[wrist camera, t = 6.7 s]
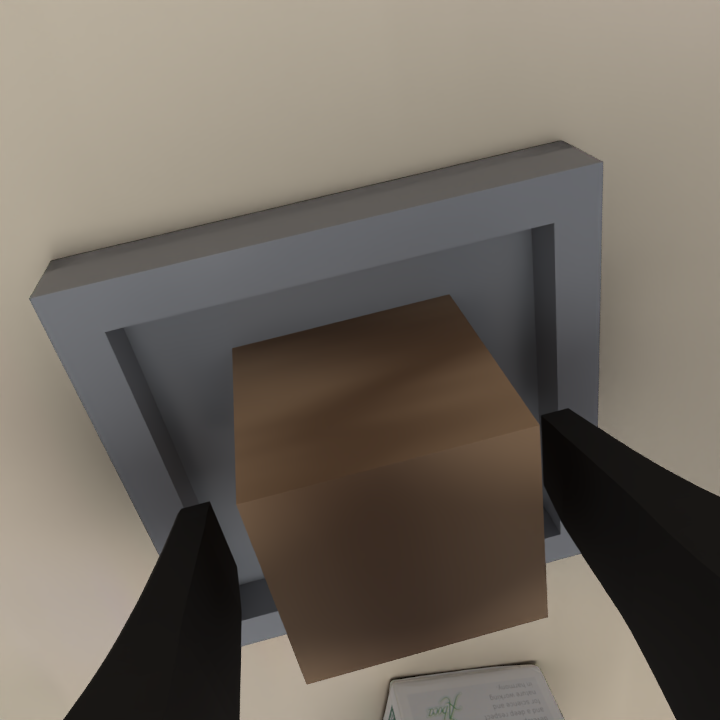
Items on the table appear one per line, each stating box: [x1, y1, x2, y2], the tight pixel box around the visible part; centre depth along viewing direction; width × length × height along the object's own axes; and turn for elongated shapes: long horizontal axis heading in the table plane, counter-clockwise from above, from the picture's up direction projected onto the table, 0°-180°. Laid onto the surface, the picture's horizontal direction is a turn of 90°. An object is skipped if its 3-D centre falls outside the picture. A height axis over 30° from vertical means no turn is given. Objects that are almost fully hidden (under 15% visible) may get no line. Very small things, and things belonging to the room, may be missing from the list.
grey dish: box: [29, 141, 603, 646], centre depth 16 cm, size 11×11×2 cm
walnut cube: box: [232, 294, 548, 684], centre depth 14 cm, size 5×5×5 cm
